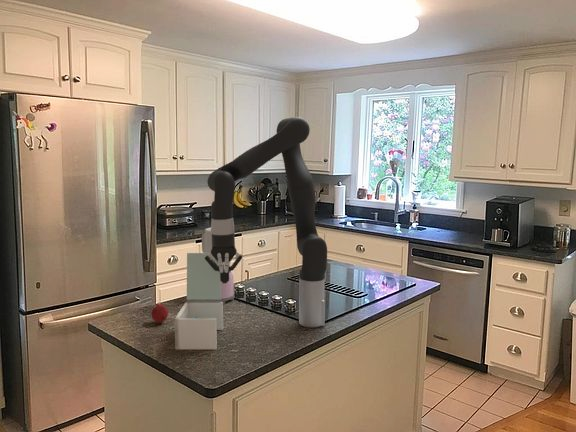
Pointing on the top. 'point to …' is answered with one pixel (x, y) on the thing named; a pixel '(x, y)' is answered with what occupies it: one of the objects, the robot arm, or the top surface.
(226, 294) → the blender
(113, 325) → the top surface
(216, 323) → the box
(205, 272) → the lid
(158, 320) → the onion
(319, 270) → the robot arm
